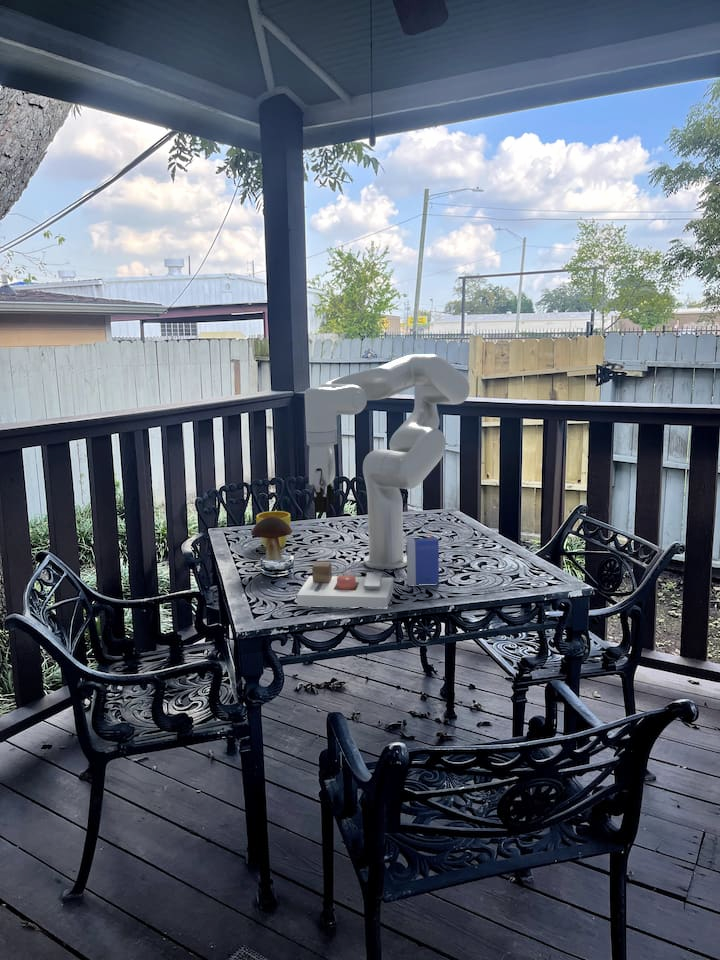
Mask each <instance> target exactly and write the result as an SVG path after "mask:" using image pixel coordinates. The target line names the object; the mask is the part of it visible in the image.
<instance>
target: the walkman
mask: <svg viewBox="0 0 720 960" xmlns="http://www.w3.org/2000/svg"><path fill="white" fill-rule="evenodd" d="M405 540H406V544H405V555H407V565H406V583H407V584H408V585H419V584H436V583H440V578H439V577H440V569H439V567H440V566H439V563H440V562H439V560H440V558H439V556H440V555H439V553H440V552H439V547H440V546H439V541H440V540H439V538H437V536H436V537H435V536H432V535H431V536H427V537H420V538H406V539H405ZM407 584H406V585H407Z"/></svg>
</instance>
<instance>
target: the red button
mask: <svg viewBox="0 0 720 960" xmlns="http://www.w3.org/2000/svg"><path fill="white" fill-rule="evenodd" d="M355 577H356V576H355V575H352V574H342V575H339V577H337V590H356V579H355Z"/></svg>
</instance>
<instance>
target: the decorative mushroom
mask: <svg viewBox="0 0 720 960" xmlns="http://www.w3.org/2000/svg"><path fill="white" fill-rule="evenodd" d="M292 533H293V530H292V528H291V525H290V526H289V525H288V524H287V523H286V522H284V521H283V520H282V519H280V518H277V517H272V516H271V517H267V518H265V519H263V520H261V521H260V522H259V523H257V524H255V525H254V527H253V528H252V531H251V536H252V537H253V536H254V537H256V538H257V537H258V538H261V537H263V538H267V542H266V548H265V561H266V560H280V559H282V551H281V548H280V544H279V540H278V537H283V536H286V535H287V536H289V535H291V534H292Z"/></svg>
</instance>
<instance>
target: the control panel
mask: <svg viewBox="0 0 720 960" xmlns="http://www.w3.org/2000/svg"><path fill="white" fill-rule="evenodd" d="M339 576H340V575H339ZM339 576H334V575H332V578H331V580H330V582H313V575H309V577H308V578H307V579H306V581H305V582H304V584H303V585H302V587H300V590H299V591H298V593H297V595H296V600H297V607H298V606H333V607H334V606H335V607H341V606H342V607H388V608H389V606H388V604H389V605H390V603H389V600H390V601H391V599H390V597H391V598H392V596H391V593H392V594H393V592H392V590H393V591H394V577H383V576H382V579H381V584H380V589H364V583H365V579H366V576H355V579H356V590H337V577H339Z"/></svg>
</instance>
